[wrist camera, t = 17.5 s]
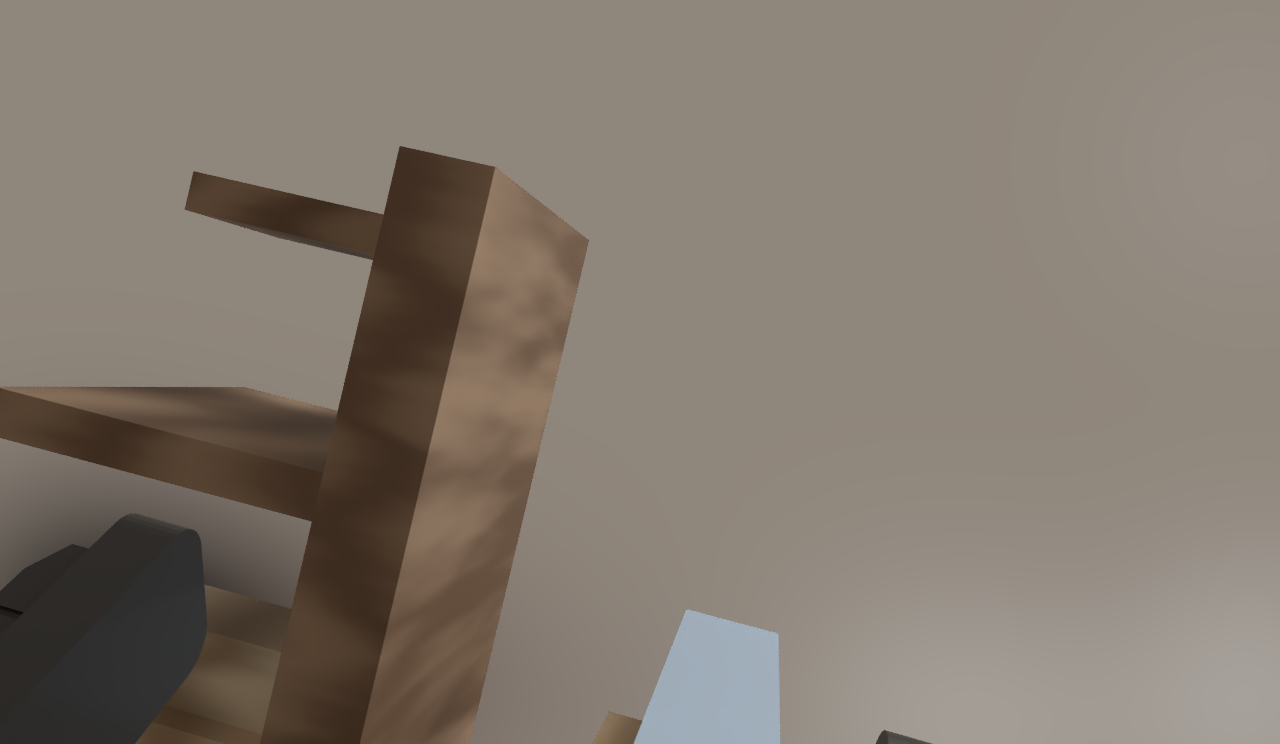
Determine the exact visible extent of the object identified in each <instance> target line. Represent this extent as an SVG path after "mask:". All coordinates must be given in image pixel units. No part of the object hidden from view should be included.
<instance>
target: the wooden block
mask: <svg viewBox="0 0 1280 744" xmlns="http://www.w3.org/2000/svg"><path fill="white" fill-rule="evenodd" d="M641 724H642V721H641V720H637V719H634V718H630V717H627V716H623V715H619V714H616V713H612V712H608V714H607V716H606V718H605V720H604V722H603V724H602V726H601V727H600V730H599V731H598V734H597V735H596V737H595V739H594V741H593V743H592V744H634V742H635V739H636V736H637V734H638V731H639V729H640V726H641Z"/></svg>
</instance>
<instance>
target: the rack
mask: <svg viewBox="0 0 1280 744" xmlns="http://www.w3.org/2000/svg"><path fill="white" fill-rule="evenodd" d="M185 210H189V211H191V212H195V213H198V214H201V215H205V216H208V217H211V218H214V219H218V220H221V221H225V222H228V223H231V224H234V225H238V226H241V227H244V228H248V229H251V230H254V231H258V232H261V233H264V234H268V235H271V236H274V237H278V238H281V239H285V240H290V241H295V242H298V243H303V244H307V245H311V246H316V247H320V248H324V249H328V250H332V251H337V252H341V253H346V254H350V255H354V256H358V257H362V258H367V259H371V260H373V263H372V267H371V271H370V276H369V280H368V285H367V289H366V293H365V297H364V302H363V306H362V310H361V314H360V318H359V323H358V327H357V331H356V336H355V340H354V344H353V349H352V353H351V357H350V361H349V365H348V370H347V374H346V378H345V383H344V387H343V391H342V395H341V400H340V404H339V409H338V411H336V410H332V409H328V408H324V407H320V406H316V405H312V404H308V403H304V402H300V401H296V400H292V399H289V398H285V397H281V396H277V395H272V394H268V393H265V392H261V391H257V390H253V389H249V388H245V387H0V438H3V439H7V440H10V441H14V442H18V443H22V444H26V445H29V446H33V447H36V448H40V449H44V450H47V451H51V452H55V453H59V454H62V455H67V456H70V457H74V458H78V459H81V460H85V461H88V462H93V463H96V464H100V465H104V466H107V467H111V468H115V469H119V470H122V471H126V472H130V473H134V474H137V475H141V476H144V477H148V478H152V479H156V480H160V481H163V482H167V483H171V484H174V485H178V486H182V487H185V488H189V489H193V490H197V491H201V492H204V493H208V494H212V495H215V496H219V497H223V498H226V499H230V500H234V501H238V502H242V503H245V504H249V505H253V506H256V507H260V508H264V509H267V510H271V511H275V512H279V513H283V514H286V515H290V516H294V517H298V518H301V519H305V520H308V521H312V524H311V528H310V532H309V536H308V541H307V545H306V549H305V554H304V558H303V562H302V566H301V571H300V575H299V579H298V584H297V588H296V592H295V596H294V601H293V605H292V609H289V608H286V607H282V606H279V605H275V604H272V603H268V602H265V601H261V600H257V599H254V598H250V597H247V596H243V595H239V594H236V593H232V592H229V591H225V590H222V589H218V588H215V587H211V586H207V585H204V586H205V599H206V612H207V632H206V637H205V641H204V644H203V647H202V650H201V653H200V655H199V657H198V660H197V662H196V664H195V666H194V667H193V669H192V671H191V672H190V674H189V675H188V676H187V678H186V679H185V680H184V682H183V683H182V684H181V686H180V687H179V688H178V689H177V691H176V692H175V693H174V695H173V696H172V697H171V698H170V700H169V701H168V702H167V704H166V705H165V706H164V707H163V709H162V710H161V711H160V713H159V714H158V715H157V716H156V718H155V719H154V720H153V721H152V723H151V724H150V725H149V727H148V728H147V729H146V730H145V732H144V733H143V734H142V736H141V737H140V738H139V739H138V741H137V742H136V743H135V744H470V740H471V736H472V731H473V727H474V723H475V719H476V715H477V711H478V706H479V702H480V698H481V694H482V689H483V685H484V681H485V677H486V673H487V668H488V664H489V660H490V656H491V651H492V647H493V643H494V638H495V635H496V630H497V626H498V622H499V618H500V613H501V609H502V605H503V601H504V597H505V592H506V588H507V584H508V580H509V575H510V571H511V567H512V563H513V558H514V554H515V550H516V545H517V542H518V537H519V533H520V529H521V525H522V520H523V516H524V512H525V508H526V504H527V499H528V495H529V491H530V486H531V483H532V478H533V474H534V470H535V466H536V461H537V457H538V453H539V449H540V444H541V440H542V436H543V432H544V428H545V423H546V419H547V415H548V411H549V407H550V402H551V398H552V394H553V389H554V385H555V381H556V377H557V373H558V368H559V364H560V360H561V356H562V352H563V347H564V343H565V339H566V335H567V330H568V326H569V322H570V318H571V313H572V309H573V305H574V301H575V297H576V293H577V288H578V284H579V280H580V276H581V271H582V267H583V263H584V259H585V255H586V250H587V246H588V242H589V240H588V239H586V238H585V237H584V236H582V235H581V234H580V233H579V232H578V231H576V230H575V229H574V228H572V227H571V226H570V225H569V224H567V223H566V222H565V221H563V220H562V219H561V218H559V217H558V216H557V215H556V214H554V213H553V212H552V211H551V210H549V209H548V208H547V207H546V206H544V205H543V204H542V203H541V202H539V201H538V200H537V199H535V198H534V197H533V196H532V195H530V194H529V193H527V191H525V190H524V189H523V188H521V187H520V186H519V185H518V184H516V183H515V182H514V181H512V180H511V179H510V178H509V177H507V176H506V175H505V174H504V173H502V172H501V171H500V170H499V169H497V168H496V167H493V166H488V165H484V164H479V163H474V162H470V161H465V160H460V159H456V158H451V157H447V156H442V155H438V154H434V153H429V152H424V151H420V150H415V149H410V148H406V147H401V146H400V147H399V152H398V156H397V160H396V165H395V169H394V173H393V177H392V182H391V186H390V190H389V195H388V199H387V203H386V207H385V212H384V215H383V214H378V213H374V212H370V211H365V210H361V209H356V208H352V207H348V206H343V205H338V204H334V203H330V202H326V201H321V200H317V199H313V198H308V197H303V196H299V195H295V194H290V193H286V192H282V191H277V190H273V189H268V188H264V187H260V186H256V185H251V184H247V183H242V182H238V181H234V180H229V179H225V178H221V177H216V176H212V175H207V174H202V173H199V172H193V176H192V180H191V185H190V189H189V194H188V198H187V202H186V207H185Z"/></svg>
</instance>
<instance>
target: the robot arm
mask: <svg viewBox="0 0 1280 744" xmlns="http://www.w3.org/2000/svg"><path fill="white" fill-rule="evenodd" d="M206 632H207V612H206V599H205V586H204V574H203V561H202V549H201V541H200V537H199V535H198V533H197V532H196V531H194V530H192V529H188V528H185V527H181V526H178V525H174V524H171V523H167V522H164V521H160V520H157V519H153V518H150V517H146V516H143V515H139V514H129V515H126V516H124V517H122V518H121V519H119V520H118V521H117V522H116V523H115V524H114V525H113V526H112V527H111V528H110V529H109V530H108V531H107V532H106V533H105V534H104V535H103V536H102V537H101V538H100V539H99V540H98V541H97V542H95V543H94V544H93V545H92V546H91V547H90V548H89V549H87V548H84V547H80V546H77V545H74V544H72V545H70V546H68V547H66V548H64V549H62V550H60V551H58V552H56V553H54V554H52V555H50V556H48V557H46V558H44V559H42V560H40V561H38V562H36V563H34V564H32V565H30V566H28V567H26V568H25V569H24V570H22V571H21V572H20V573H19V574H18V575H17V576H16V577H15V578H14V579H13V580H12V581H11V582H9V583H8V584H7V585H6V586H5V587H4V588H3V589H2V590H1V591H0V744H135V743H136V742H137V741H138V739H139V738H140V737H141V736H142V734H143V733H144V732H145V730H146V729H147V728H148V727H149V725H150V724H151V723H152V721H153V720H154V719H155V718H156V716H157V715H158V714H159V713H160V711H161V710H162V709H163V707H164V706H165V705H166V704H167V702H168V701H169V700H170V698H171V697H172V696H173V695H174V693H175V692H176V691H177V689H178V688H179V687H180V686H181V684H182V683H183V682H184V680H185V679H186V678H187V676H188V675H189V674H190V672H191V671H192V669H193V667H194V666H195V664H196V662H197V660H198V657H199V655H200V653H201V650H202V647H203V644H204V641H205V637H206ZM876 744H931V743H927V742H924V741H921V740H917V739H914V738H910V737H907V736H903V735H899V734H896V733H893V732H889V731H886V730H884V731H883V732H882V733H881V734H880V736H879V738H878V740H877V742H876Z"/></svg>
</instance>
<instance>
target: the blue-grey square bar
mask: <svg viewBox="0 0 1280 744" xmlns="http://www.w3.org/2000/svg"><path fill="white" fill-rule="evenodd" d="M778 644H779V643H778V633H774V632H770V631H766V630H763V629H759V628H755V627H751V626H747V625H744V624H740V623H736V622H733V621H729V620H725V619H721V618H718V617H714V616H710V615H706V614H703V613H699V612H695V611H691V610H686V612H685V615H684V618H683V620H682V623H681V625H680V628H679V630H678V633H677V635H676V638H675V641H674V643H673V646H672V648H671V650H670V653H669V655H668V658H667V660H666V663H665V666H664V668H663V671H662V673H661V676H660V678H659V681H658V683H657V686H656V688H655V691H654V694H653V696H652V698H651V701H650V704H649V706H648V709H647V712H646V714H645V716H644V719H643V721H642V724H641V726H640V729H639V731H638V734H637V736H636V739H635V742H634V744H780V703H779V702H780V700H779V645H778Z"/></svg>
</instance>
